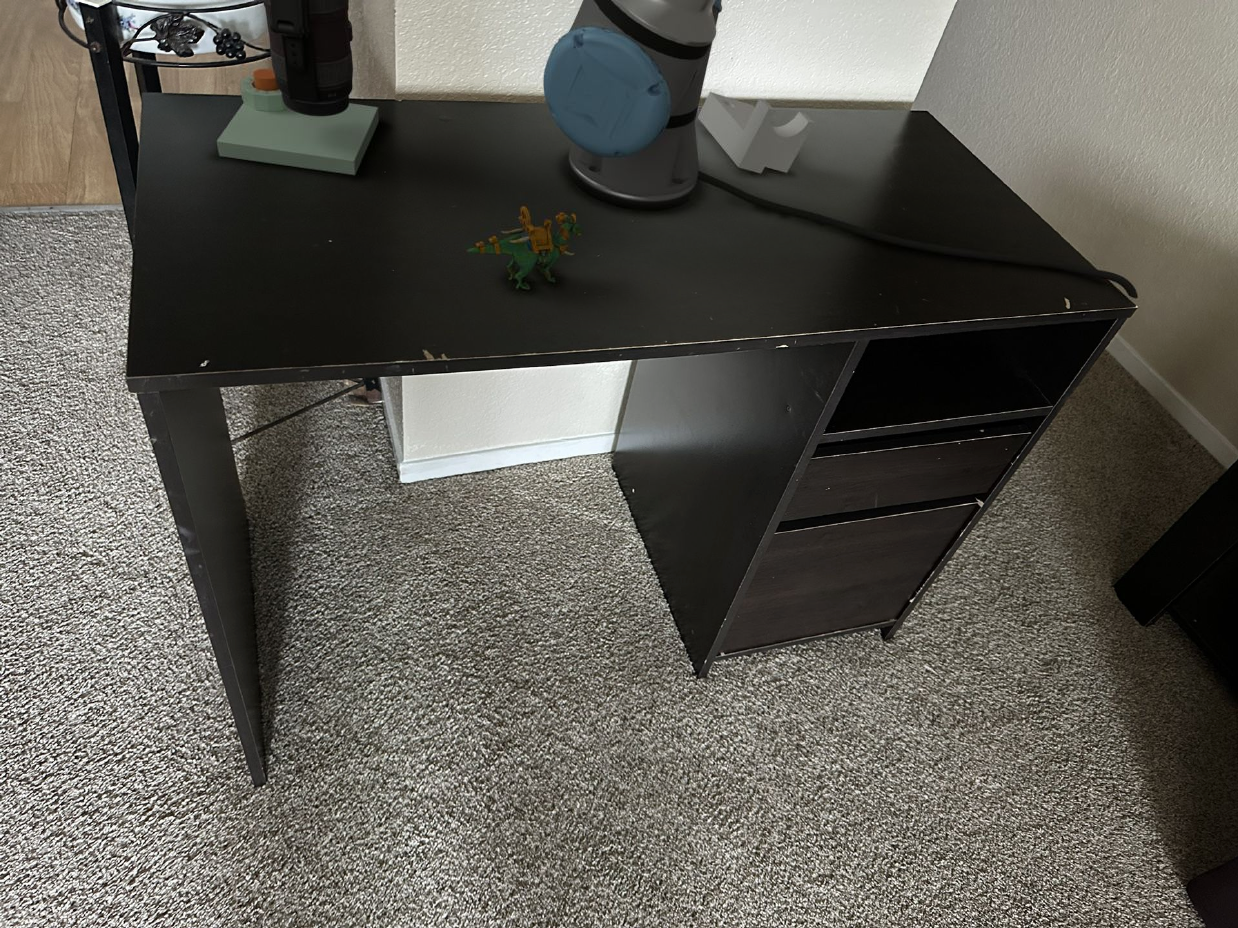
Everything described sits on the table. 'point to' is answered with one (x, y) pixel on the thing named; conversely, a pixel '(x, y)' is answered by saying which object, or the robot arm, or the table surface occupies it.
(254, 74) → the button
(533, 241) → the figurine
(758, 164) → the bracket
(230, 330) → the table surface
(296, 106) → the camera lens
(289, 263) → the table surface
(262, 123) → the scale
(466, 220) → the table surface
